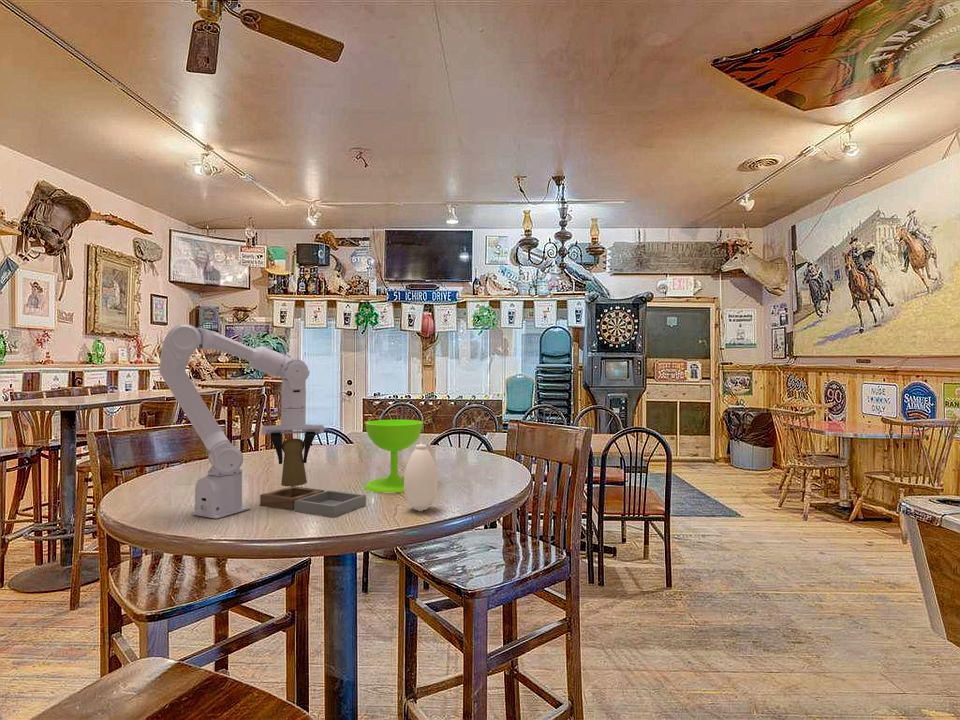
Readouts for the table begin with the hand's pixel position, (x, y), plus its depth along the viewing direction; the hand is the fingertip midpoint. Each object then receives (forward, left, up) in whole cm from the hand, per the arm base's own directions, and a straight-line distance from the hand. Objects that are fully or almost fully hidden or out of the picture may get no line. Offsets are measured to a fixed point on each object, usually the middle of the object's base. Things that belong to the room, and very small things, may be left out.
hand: (293, 463), depth 132 cm
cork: (0, 0, -5) cm, 5 cm away
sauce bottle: (+8, -32, -10) cm, 34 cm away
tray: (0, -12, -10) cm, 15 cm away
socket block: (0, 0, -10) cm, 10 cm away
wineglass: (+26, -12, -10) cm, 30 cm away
